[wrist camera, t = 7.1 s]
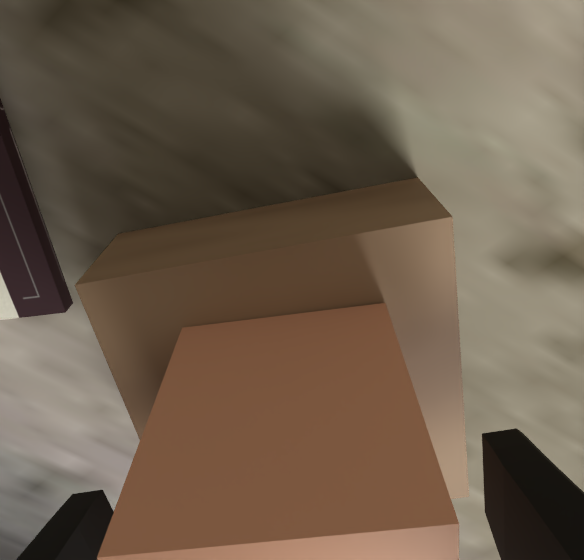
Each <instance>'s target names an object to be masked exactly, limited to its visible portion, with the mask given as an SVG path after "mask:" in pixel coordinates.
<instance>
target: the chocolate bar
mask: <svg viewBox="0 0 584 560" xmlns="http://www.w3.org/2000/svg"><path fill="white" fill-rule="evenodd" d="M72 304H73V302H72V299H71V296H70V293H69V290H68V287H67V285H66V282H65V279H64V276H63V273H62V271H61V268H60V265H59V262H58V259H57V257H56V254H55V251H54V248H53V245H52V242H51V240H50V237H49V234H48V231H47V228H46V226H45V223H44V220H43V217H42V214H41V212H40V209H39V206H38V203H37V200H36V197H35V195H34V192H33V189H32V186H31V183H30V181H29V178H28V175H27V172H26V169H25V166H24V164H23V161H22V158H21V155H20V152H19V150H18V147H17V144H16V141H15V138H14V136H13V133H12V130H11V127H10V124H9V121H8V119H7V116H6V113H5V110H4V107H3V105H2V102H1V99H0V320H3V319H12V318H21V317H29V316H38V315H47V314H55V313H64V312H66V311H67V310H68V309H69V307H70V306H71V305H72Z"/></svg>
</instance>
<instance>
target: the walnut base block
mask: <svg viewBox="0 0 584 560" xmlns="http://www.w3.org/2000/svg"><path fill="white" fill-rule="evenodd" d="M75 287H76V289H77V292H78V294H79V296H80V299H81V301H82V304H83V306H84V308H85V311H86V313H87V315H88V318H89V320H90V323H91V325H92V327H93V330H94V332H95V334H96V337H97V339H98V342H99V344H100V346H101V349H102V351H103V353H104V356H105V358H106V361H107V363H108V365H109V368H110V370H111V372H112V375H113V377H114V379H115V382H116V384H117V387H118V389H119V391H120V394H121V396H122V398H123V401H124V403H125V406H126V408H127V410H128V413H129V415H130V417H131V420H132V422H133V425H134V427H135V429H136V432H137V434H138V436H139V439H140V440H141V437H142V435H143V432H144V429H145V427H146V424H147V421H148V418H149V416H150V413H151V410H152V408H153V405H154V402H155V400H156V397H157V394H158V391H159V389H160V386H161V383H162V381H163V378H164V375H165V373H166V370H167V367H168V364H169V362H170V359H171V356H172V354H173V351H174V348H175V345H176V343H177V340H178V337H179V335H180V332H181V329H182V328H183V327H192V326H200V325H208V324H216V323H224V322H232V321H241V320H249V319H257V318H265V317H273V316H282V315H290V314H298V313H306V312H314V311H322V310H331V309H339V308H347V307H355V306H363V305H372V304H380V303H386V306H387V309H388V312H389V315H390V318H391V321H392V324H393V327H394V330H395V333H396V336H397V339H398V342H399V345H400V348H401V351H402V354H403V357H404V360H405V363H406V366H407V369H408V372H409V375H410V378H411V381H412V384H413V387H414V390H415V393H416V396H417V399H418V402H419V405H420V408H421V411H422V414H423V417H424V420H425V423H426V426H427V429H428V432H429V435H430V438H431V441H432V444H433V447H434V450H435V453H436V456H437V459H438V462H439V465H440V468H441V471H442V474H443V477H444V480H445V483H446V486H447V489H448V492H449V495H450V498H451V499H455V498H462V497H469V487H468V470H467V454H466V437H465V420H464V403H463V386H462V369H461V352H460V335H459V319H458V302H457V285H456V268H455V251H454V234H453V217H452V216H451V214H450V213H449V212H448V211H447V210H446V209H445V208H444V207H443V205H442V204H441V203H440V202H439V201H438V200H437V199H436V198H435V196H434V195H433V194H432V193H431V192H430V191H429V190H428V188H427V187H426V186H425V185H424V184H423V183H422V182H421V181H420V179H419V178H418V177H417V178H412V179H407V180H401V181H396V182H391V183H385V184H380V185H375V186H369V187H364V188H359V189H353V190H348V191H343V192H338V193H332V194H327V195H322V196H316V197H311V198H306V199H300V200H295V201H290V202H285V203H279V204H274V205H269V206H263V207H258V208H253V209H247V210H242V211H237V212H231V213H226V214H221V215H216V216H210V217H205V218H200V219H194V220H189V221H184V222H178V223H173V224H168V225H162V226H157V227H152V228H147V229H141V230H136V231H131V232H125V233H120V234H118V235H117V236H116V237H115V238H114V239H113V241H112V242H111V243H110V244H109V245H108V246H107V248H106V249H105V250H104V251H103V252H102V254H101V255H100V256H99V257H98V258H97V259H96V261H95V262H94V263H93V264H92V265H91V266H90V268H89V269H88V270H87V271H86V272H85V274H84V275H83V276H82V277H81V278H80V279H79V281H78V282H77V283H76V284H75Z"/></svg>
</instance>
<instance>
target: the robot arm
mask: <svg viewBox="0 0 584 560" xmlns="http://www.w3.org/2000/svg"><path fill="white" fill-rule="evenodd" d="M482 445H483V472H484V498H485V513H486V516H487V519H488V522H489V525H490V528H491V531H492V534H493V537H494V540H495V543H496V546H497V549H498V552H499V555H500V557H501V560H584V492H583V491H582V490H581V489H580V488H579V487H577V486H576V485H575V484H574V483H573V482H572V481H571V480H570V479H569V478H568V477H567V476H566V475H565V474H564V473H563V472H562V471H561V470H559V469H558V468H557V467H556V466H555V465H554V464H553V463H552V462H551V461H550V460H549V459H548V458H547V457H546V456H545V455H544V454H543V453H542V452H541V451H540V450H539V449H538V448H537V447H536V446H535V445H534V444H533V443H532V442H531V441H530V440H529V439H528V438H527V437H526V436H525V435H524V434H523V433H522V432H520V431H519V430H518V429H510V430H504V431H497V432H490V433H483V434H482ZM113 513H114V512H113V510H112V508H111V506H110V504H109V502H108V500H107V498H106V496H105V494H104V492H103V490H98V491H91V492H84V493H77V494H72V495H71V497H70V498H69V499H68V500H67V501H66V502H65V503H64V504H63V505H62V507H61V508H60V509H59V510H58V511H57V512H56V514H55V515H54V516H53V517H52V518H51V519H50V521H49V522H48V523H47V524H46V525H45V526H44V528H43V529H42V530H41V531H40V532H39V534H38V535H37V536H36V537H35V538H34V540H33V541H32V542H31V543H30V544H29V545H28V547H27V548H26V549H25V550H24V551H23V553H22V554H21V555H20V556H19V557H18V558H17V560H98V559H97V556H98V553H99V551H100V548H101V545H102V543H103V540H104V537H105V535H106V532H107V529H108V526H109V524H110V521H111V518H112V516H113Z"/></svg>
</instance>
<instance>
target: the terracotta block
mask: <svg viewBox="0 0 584 560" xmlns="http://www.w3.org/2000/svg"><path fill="white" fill-rule="evenodd" d="M97 559H98V560H459V522H458V519H457V516H456V513H455V510H454V507H453V504H452V501H451V498H450V495H449V492H448V489H447V486H446V483H445V480H444V477H443V474H442V471H441V468H440V465H439V462H438V459H437V456H436V453H435V450H434V447H433V444H432V441H431V438H430V435H429V432H428V429H427V426H426V423H425V420H424V417H423V414H422V411H421V408H420V405H419V402H418V399H417V396H416V393H415V390H414V387H413V384H412V381H411V378H410V375H409V372H408V369H407V366H406V363H405V360H404V357H403V354H402V351H401V348H400V345H399V342H398V339H397V336H396V333H395V330H394V327H393V324H392V321H391V318H390V315H389V312H388V309H387V306H386V303H380V304H372V305H363V306H355V307H347V308H339V309H331V310H322V311H314V312H306V313H298V314H290V315H282V316H273V317H265V318H257V319H249V320H241V321H232V322H224V323H216V324H208V325H200V326H192V327H183V328H182V329H181V332H180V335H179V337H178V340H177V343H176V345H175V348H174V351H173V354H172V356H171V359H170V362H169V364H168V367H167V370H166V373H165V375H164V378H163V381H162V383H161V386H160V389H159V391H158V394H157V397H156V400H155V402H154V405H153V408H152V410H151V413H150V416H149V418H148V421H147V424H146V427H145V429H144V432H143V435H142V437H141V440H140V443H139V445H138V448H137V451H136V454H135V456H134V459H133V462H132V464H131V467H130V470H129V472H128V475H127V478H126V481H125V483H124V486H123V489H122V491H121V494H120V497H119V499H118V502H117V505H116V508H115V510H114V513H113V516H112V518H111V521H110V524H109V526H108V529H107V532H106V535H105V537H104V540H103V543H102V545H101V548H100V551H99V553H98V556H97Z"/></svg>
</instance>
